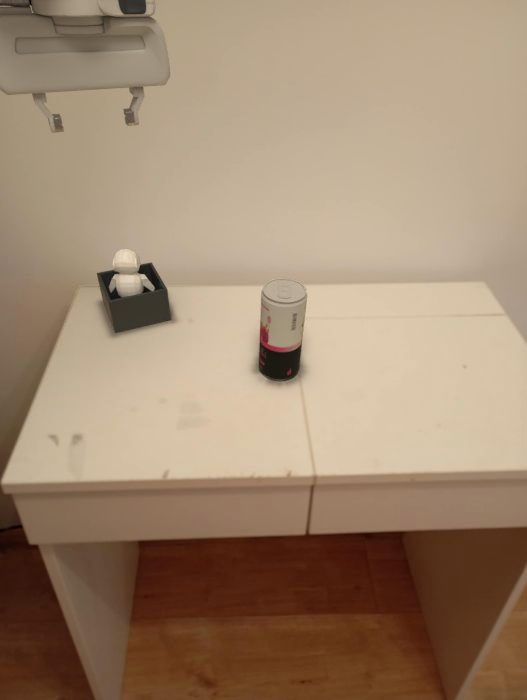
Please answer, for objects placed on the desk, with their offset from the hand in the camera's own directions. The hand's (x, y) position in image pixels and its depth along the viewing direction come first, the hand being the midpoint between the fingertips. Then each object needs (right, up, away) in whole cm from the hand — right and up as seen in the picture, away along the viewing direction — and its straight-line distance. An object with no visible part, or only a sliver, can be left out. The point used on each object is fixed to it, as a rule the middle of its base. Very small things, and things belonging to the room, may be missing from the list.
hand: (95, 127), depth 61 cm
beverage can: (+24, -32, +15) cm, 43 cm away
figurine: (-2, -22, +25) cm, 33 cm away
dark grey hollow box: (-2, -22, +26) cm, 34 cm away
